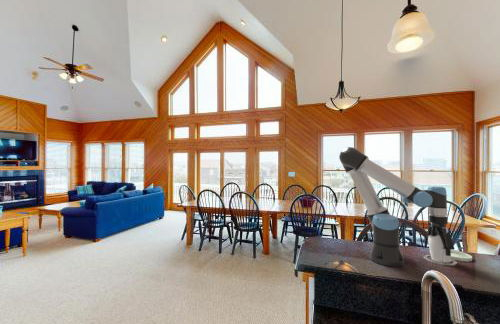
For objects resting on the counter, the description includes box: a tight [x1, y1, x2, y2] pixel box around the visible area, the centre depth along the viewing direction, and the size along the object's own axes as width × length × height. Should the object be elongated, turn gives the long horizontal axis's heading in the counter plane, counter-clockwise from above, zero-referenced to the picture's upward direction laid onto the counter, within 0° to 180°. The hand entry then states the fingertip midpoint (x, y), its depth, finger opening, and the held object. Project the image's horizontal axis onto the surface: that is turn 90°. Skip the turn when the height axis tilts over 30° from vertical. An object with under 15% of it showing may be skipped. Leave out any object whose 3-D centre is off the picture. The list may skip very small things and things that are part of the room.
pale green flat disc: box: [451, 249, 473, 262], centre depth 120 cm, size 13×13×2 cm
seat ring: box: [423, 254, 458, 267], centre depth 115 cm, size 12×12×1 cm
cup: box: [427, 235, 449, 264], centre depth 115 cm, size 9×9×12 cm
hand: (439, 257), depth 115 cm, fingers open, 11 cm apart
